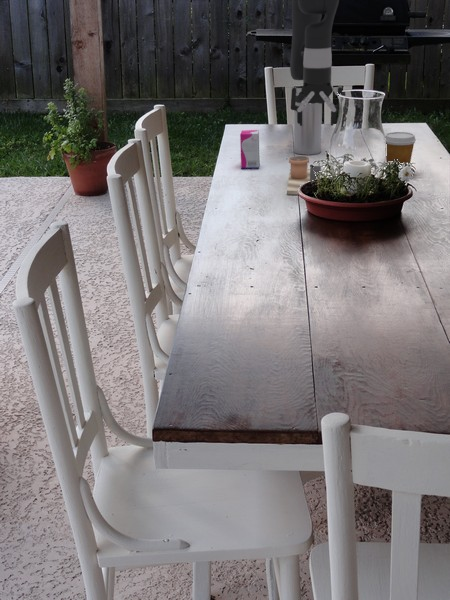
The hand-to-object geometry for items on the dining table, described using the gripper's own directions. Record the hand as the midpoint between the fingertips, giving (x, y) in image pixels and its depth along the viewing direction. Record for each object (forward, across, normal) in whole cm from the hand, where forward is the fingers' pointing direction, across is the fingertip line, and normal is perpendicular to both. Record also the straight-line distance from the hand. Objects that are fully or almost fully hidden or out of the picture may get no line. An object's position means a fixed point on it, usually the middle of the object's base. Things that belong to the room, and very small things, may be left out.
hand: (316, 125), depth 221 cm
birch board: (+19, +3, -9) cm, 22 cm away
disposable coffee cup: (+19, -25, -20) cm, 37 cm away
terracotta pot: (+18, +5, -12) cm, 22 cm away
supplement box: (+19, +21, -28) cm, 40 cm away
